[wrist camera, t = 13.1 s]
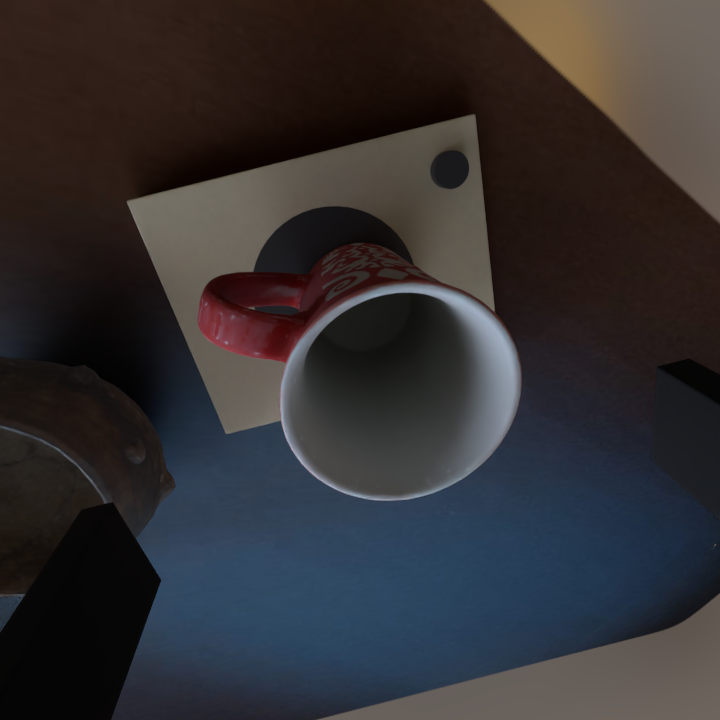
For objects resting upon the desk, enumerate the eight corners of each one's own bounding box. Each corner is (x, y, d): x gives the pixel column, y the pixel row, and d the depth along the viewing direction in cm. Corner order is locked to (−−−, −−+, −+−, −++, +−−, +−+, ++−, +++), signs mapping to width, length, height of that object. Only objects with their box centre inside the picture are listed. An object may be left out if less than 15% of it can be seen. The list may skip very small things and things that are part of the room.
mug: (456, 261, 28) (572, 339, 16) (394, 381, 31) (450, 525, 19) (263, 172, 25) (218, 183, 12) (214, 316, 28) (140, 439, 15)
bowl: (-65, 316, 28) (-244, 391, 19) (191, 338, 30) (141, 415, 21) (-21, 492, 33) (-144, 616, 24) (193, 500, 36) (153, 615, 27)
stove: (464, 116, 26) (482, 111, 24) (490, 354, 33) (506, 371, 30) (138, 198, 26) (118, 202, 24) (230, 419, 33) (223, 443, 30)
